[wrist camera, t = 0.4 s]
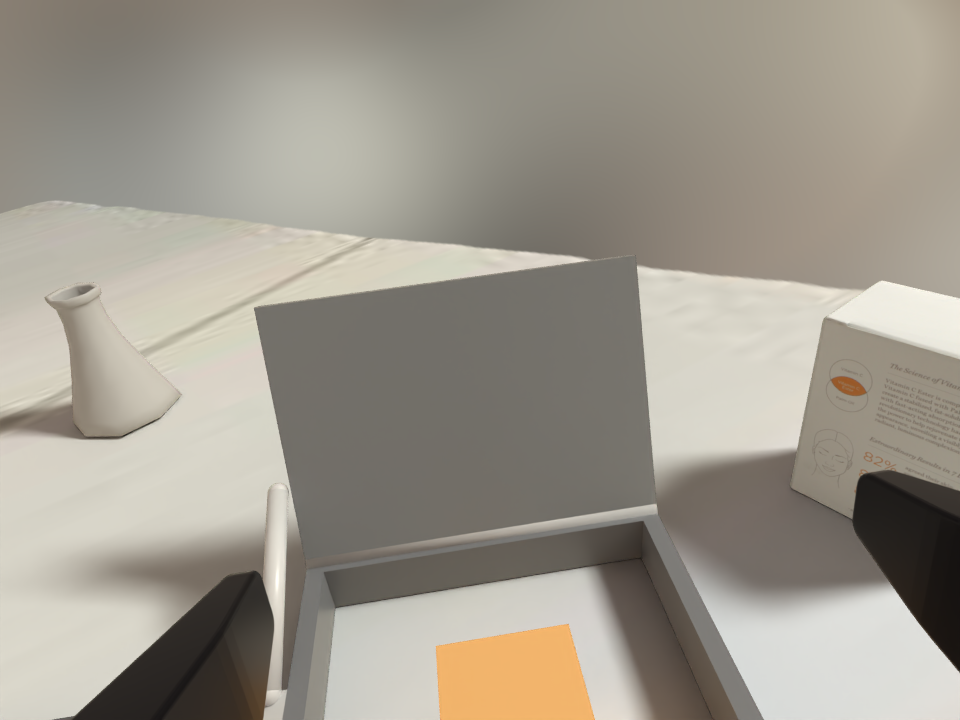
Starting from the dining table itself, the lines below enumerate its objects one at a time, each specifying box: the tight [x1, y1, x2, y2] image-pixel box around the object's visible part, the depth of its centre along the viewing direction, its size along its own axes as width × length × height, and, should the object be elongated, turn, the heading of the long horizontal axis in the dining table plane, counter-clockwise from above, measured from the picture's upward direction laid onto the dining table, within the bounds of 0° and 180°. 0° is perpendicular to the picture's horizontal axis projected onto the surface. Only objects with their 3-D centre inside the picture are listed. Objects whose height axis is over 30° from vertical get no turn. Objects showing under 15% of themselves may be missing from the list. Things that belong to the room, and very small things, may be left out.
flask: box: [45, 282, 182, 437], centre depth 44 cm, size 7×7×10 cm
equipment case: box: [254, 255, 764, 720], centre depth 19 cm, size 26×18×14 cm
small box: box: [790, 281, 960, 519], centre depth 29 cm, size 8×6×10 cm
